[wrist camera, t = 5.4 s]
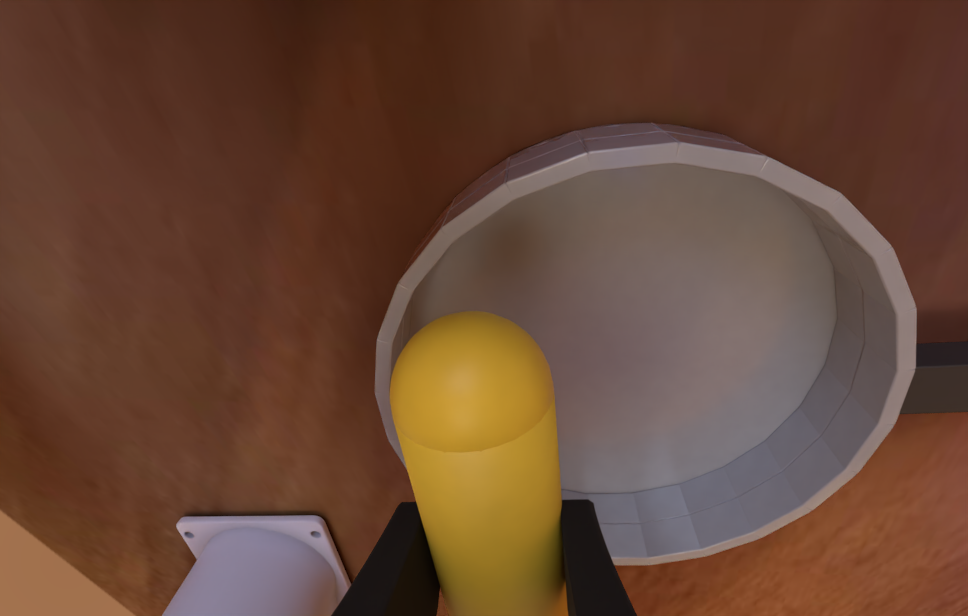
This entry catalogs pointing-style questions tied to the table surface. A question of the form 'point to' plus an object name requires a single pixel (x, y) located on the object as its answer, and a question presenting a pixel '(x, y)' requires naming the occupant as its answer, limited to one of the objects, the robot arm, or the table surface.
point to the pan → (678, 327)
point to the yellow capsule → (484, 463)
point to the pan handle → (939, 379)
